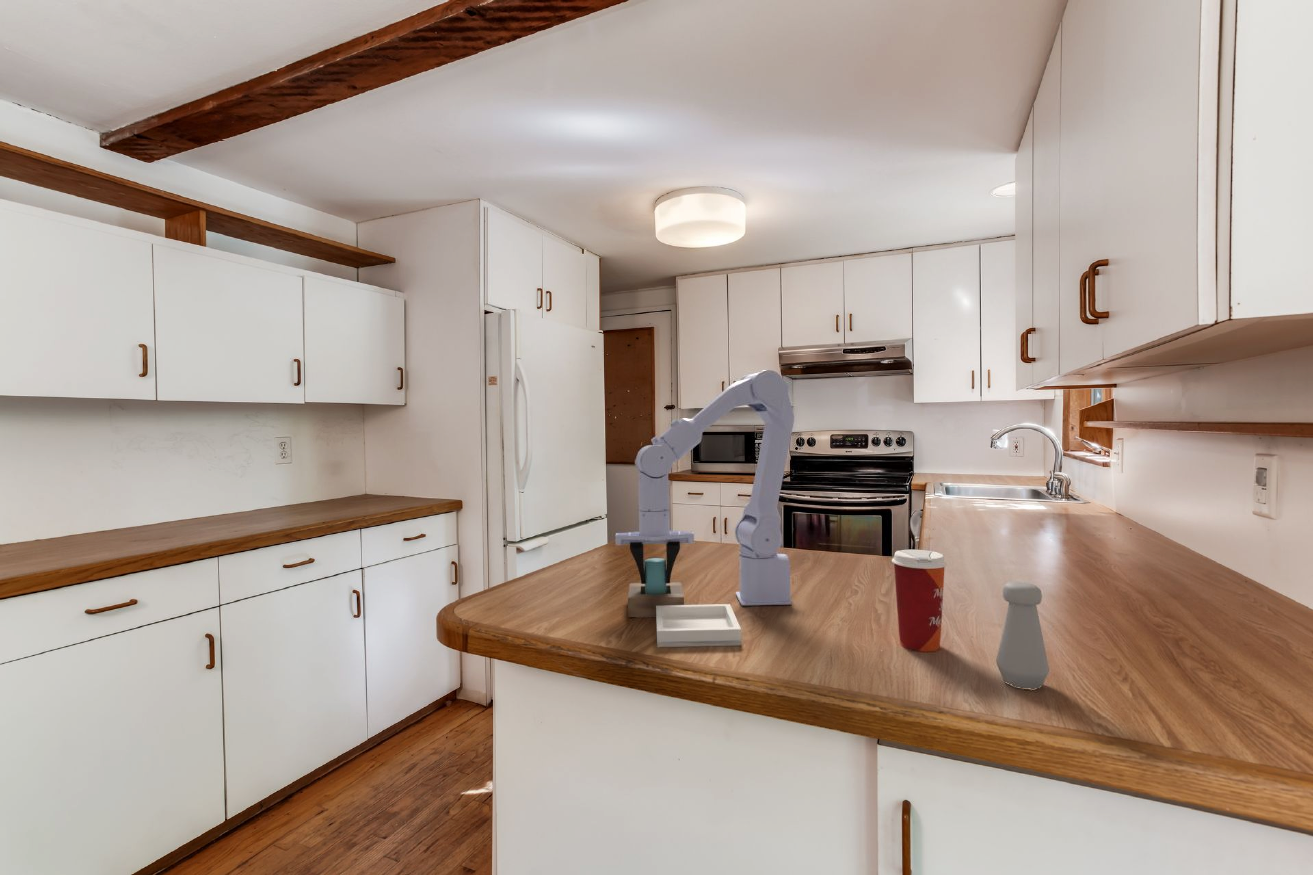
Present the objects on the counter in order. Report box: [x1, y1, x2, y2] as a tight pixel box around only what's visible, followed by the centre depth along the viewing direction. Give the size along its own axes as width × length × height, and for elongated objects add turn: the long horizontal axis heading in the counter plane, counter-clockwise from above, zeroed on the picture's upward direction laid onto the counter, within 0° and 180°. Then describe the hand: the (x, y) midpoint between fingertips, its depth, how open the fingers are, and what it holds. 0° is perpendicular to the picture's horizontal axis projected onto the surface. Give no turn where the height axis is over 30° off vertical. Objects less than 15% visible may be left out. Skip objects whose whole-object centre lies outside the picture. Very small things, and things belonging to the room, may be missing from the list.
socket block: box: [627, 581, 685, 618], centre depth 112 cm, size 10×10×4 cm
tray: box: [655, 603, 742, 648], centre depth 99 cm, size 13×13×2 cm
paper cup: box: [891, 549, 948, 653], centre depth 91 cm, size 8×8×14 cm
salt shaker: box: [995, 581, 1050, 689], centre depth 77 cm, size 6×6×13 cm
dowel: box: [644, 557, 667, 594], centre depth 112 cm, size 4×4×9 cm
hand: (655, 582), depth 112 cm, fingers closed on dowel, 4 cm apart
